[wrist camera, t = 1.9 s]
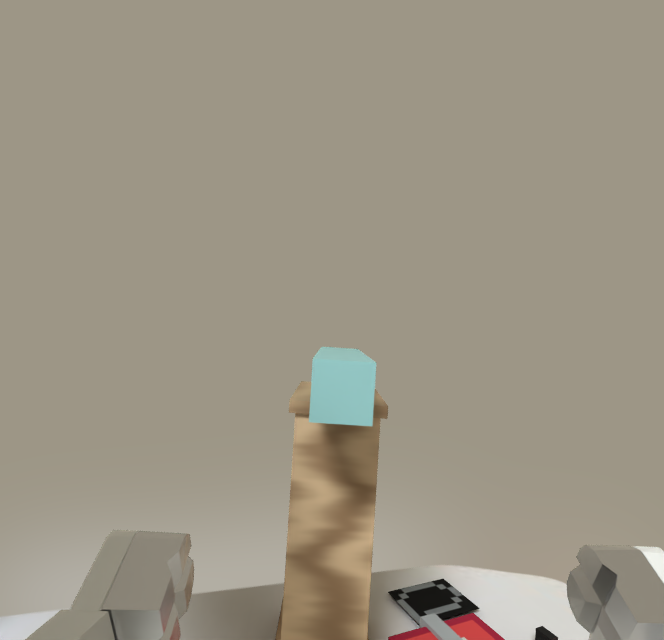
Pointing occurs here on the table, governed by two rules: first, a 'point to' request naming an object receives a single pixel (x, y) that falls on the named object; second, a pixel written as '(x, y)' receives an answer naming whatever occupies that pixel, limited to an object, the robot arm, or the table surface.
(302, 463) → the pedestal
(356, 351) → the rod
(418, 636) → the red board with handle
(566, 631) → the table surface
